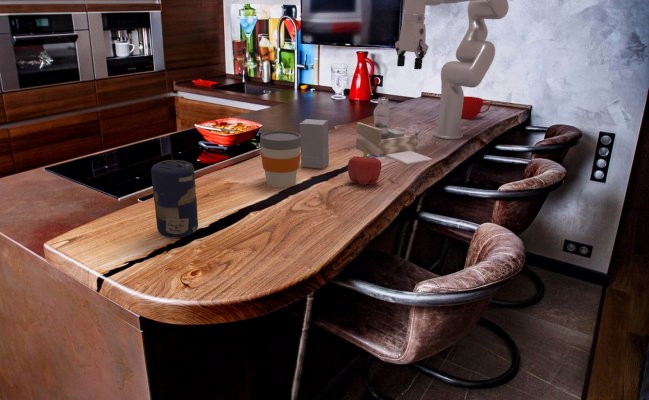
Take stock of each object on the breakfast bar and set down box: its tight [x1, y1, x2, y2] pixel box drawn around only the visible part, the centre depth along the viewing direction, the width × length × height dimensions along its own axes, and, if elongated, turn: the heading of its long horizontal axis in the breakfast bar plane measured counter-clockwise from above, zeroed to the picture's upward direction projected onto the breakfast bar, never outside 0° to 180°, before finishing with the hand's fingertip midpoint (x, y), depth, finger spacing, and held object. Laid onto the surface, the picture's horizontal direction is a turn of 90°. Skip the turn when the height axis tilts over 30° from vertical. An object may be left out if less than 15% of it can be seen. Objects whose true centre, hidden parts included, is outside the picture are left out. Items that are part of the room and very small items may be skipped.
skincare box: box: [299, 118, 330, 170], centre depth 167 cm, size 8×7×16 cm
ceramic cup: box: [461, 95, 491, 120], centre depth 250 cm, size 13×17×10 cm
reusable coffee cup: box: [259, 130, 302, 189], centre depth 150 cm, size 13×13×15 cm
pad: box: [385, 151, 433, 166], centre depth 182 cm, size 12×12×1 cm
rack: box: [355, 121, 418, 158], centre depth 191 cm, size 19×14×10 cm
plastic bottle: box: [373, 97, 392, 140], centre depth 188 cm, size 6×7×20 cm
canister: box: [150, 159, 199, 239], centre depth 115 cm, size 10×10×18 cm
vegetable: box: [347, 149, 382, 185], centre depth 153 cm, size 11×10×10 cm
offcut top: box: [388, 128, 405, 138], centre depth 192 cm, size 4×8×2 cm, turn 27°
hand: (409, 67), depth 186 cm, fingers open, 9 cm apart
